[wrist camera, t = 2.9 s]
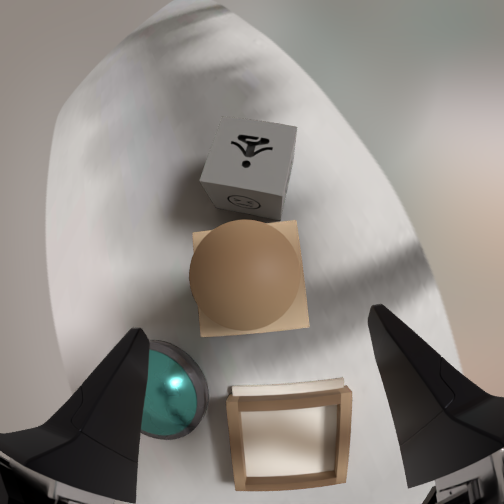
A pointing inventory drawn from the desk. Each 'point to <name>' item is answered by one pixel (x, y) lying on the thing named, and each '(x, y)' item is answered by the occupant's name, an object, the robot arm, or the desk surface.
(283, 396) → the frame
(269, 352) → the desk surface
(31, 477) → the robot arm
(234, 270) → the stamp
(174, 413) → the pad
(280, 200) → the dice cube
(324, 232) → the desk surface
